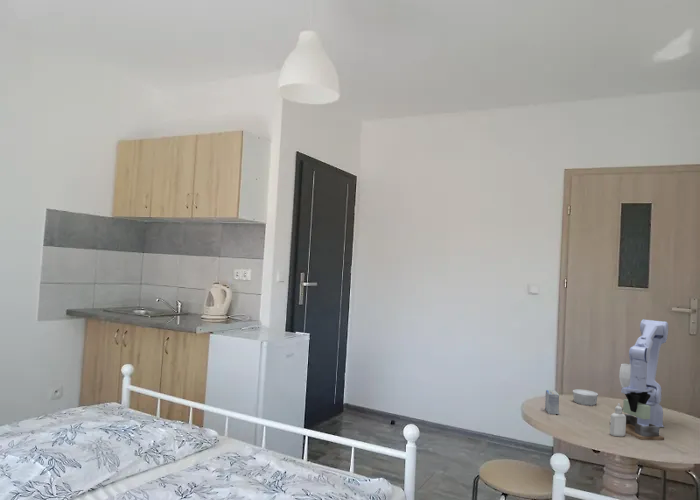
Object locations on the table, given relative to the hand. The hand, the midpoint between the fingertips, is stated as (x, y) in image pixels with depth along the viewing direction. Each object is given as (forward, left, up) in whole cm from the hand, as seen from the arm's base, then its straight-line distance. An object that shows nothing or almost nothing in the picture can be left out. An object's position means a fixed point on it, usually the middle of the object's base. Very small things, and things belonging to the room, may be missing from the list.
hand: (636, 411), depth 207 cm
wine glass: (-18, -30, -8) cm, 36 cm away
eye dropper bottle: (+11, +4, -8) cm, 14 cm away
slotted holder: (0, 0, -8) cm, 8 cm away
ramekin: (-5, -42, -8) cm, 43 cm away
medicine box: (+21, -26, -8) cm, 34 cm away
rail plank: (0, 0, -2) cm, 2 cm away
